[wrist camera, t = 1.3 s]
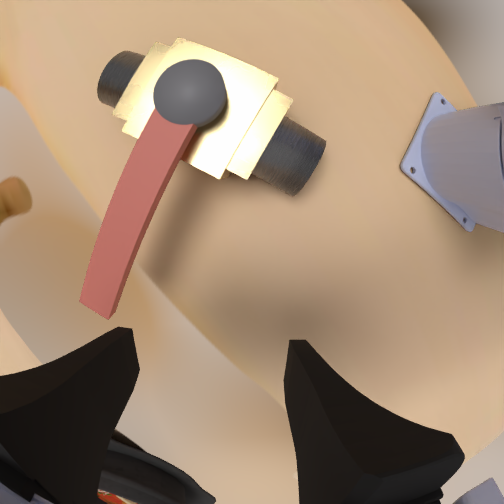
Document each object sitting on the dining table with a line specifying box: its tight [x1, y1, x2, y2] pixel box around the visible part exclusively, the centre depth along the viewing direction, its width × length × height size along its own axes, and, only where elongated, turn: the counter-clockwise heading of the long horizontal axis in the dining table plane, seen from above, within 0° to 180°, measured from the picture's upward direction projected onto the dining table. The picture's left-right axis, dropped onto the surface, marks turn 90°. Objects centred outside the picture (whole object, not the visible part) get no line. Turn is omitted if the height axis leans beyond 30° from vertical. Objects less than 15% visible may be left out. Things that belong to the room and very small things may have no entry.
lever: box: [79, 59, 227, 319], centre depth 12 cm, size 3×14×1 cm, turn 151°
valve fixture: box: [97, 37, 326, 196], centre depth 14 cm, size 14×6×6 cm, turn 61°
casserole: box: [96, 439, 216, 504], centre depth 24 cm, size 25×19×8 cm
